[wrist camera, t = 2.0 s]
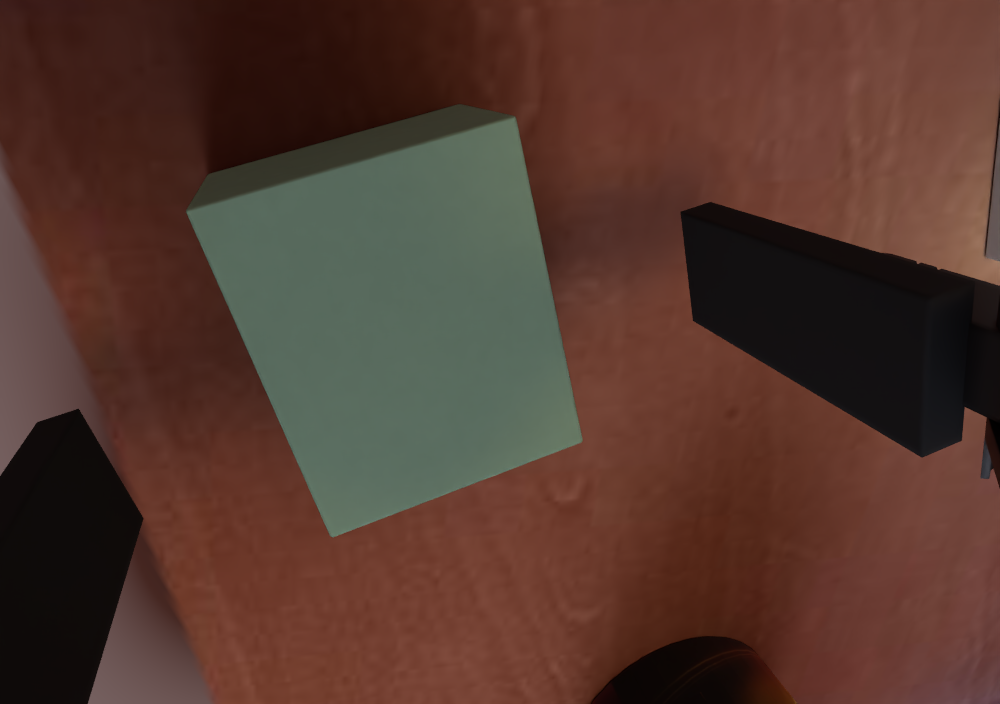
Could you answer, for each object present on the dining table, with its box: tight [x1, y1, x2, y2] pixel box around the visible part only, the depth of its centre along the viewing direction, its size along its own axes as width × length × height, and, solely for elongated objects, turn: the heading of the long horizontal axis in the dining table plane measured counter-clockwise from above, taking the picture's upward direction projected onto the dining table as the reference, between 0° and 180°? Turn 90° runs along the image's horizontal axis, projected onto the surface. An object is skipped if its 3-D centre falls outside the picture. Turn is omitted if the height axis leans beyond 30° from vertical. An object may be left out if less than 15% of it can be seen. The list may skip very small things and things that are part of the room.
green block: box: [186, 104, 583, 537], centre depth 17 cm, size 8×6×4 cm
